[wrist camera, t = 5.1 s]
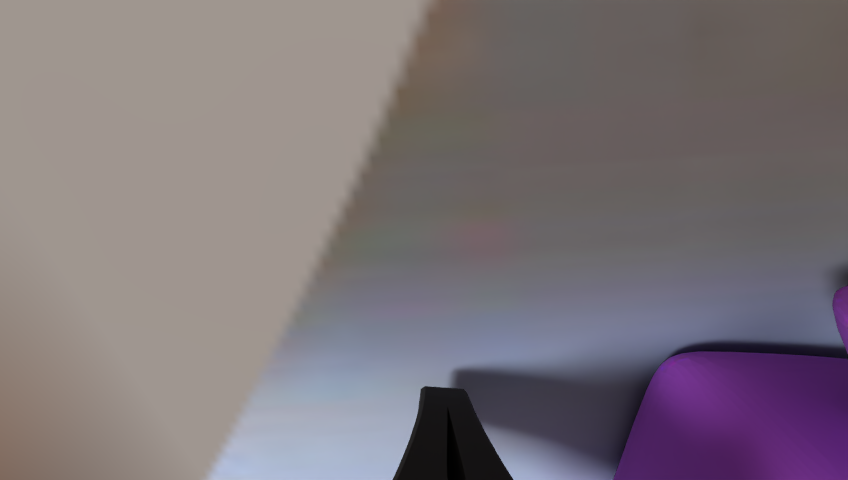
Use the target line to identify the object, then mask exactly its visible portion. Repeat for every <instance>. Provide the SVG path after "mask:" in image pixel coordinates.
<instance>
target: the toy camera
mask: <svg viewBox="0 0 848 480" xmlns="http://www.w3.org/2000/svg"><path fill="white" fill-rule="evenodd" d="M832 306H833V311H834V315H835V319H836V323H837V328H838V330H839V333H840V335H841V338H842V341H843V343H844V346H845V348H846V351H847V353H848V285H847V286H845V287H842V288H840V289H839V290H837V291H836V293H835V295H834V298H833V305H832ZM613 480H848V359H843V358H831V357H819V356H804V355H787V354H768V353H745V352H701V351H700V352H690V353H682V354H678V355H675V356H672V357H670V358H668V359H667V360H666V361H664V362H663V363H662V364H661V365H660V366H659V368H658V369H657V371H656V372H655V374H654V375H653V377H652V379H651V381H650V383H649V385H648V388H647V390H646V392H645V395H644V398H643V400H642V403H641V405H640V408H639V410H638V413H637V416H636V418H635V421H634V423H633V426H632V429H631V432H630V435H629V437H628V440H627V443H626V446H625V449H624V451H623V454H622V457H621V460H620V462H619V465H618V468H617V471H616V474H615V476H614V479H613Z"/></svg>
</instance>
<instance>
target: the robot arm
mask: <svg viewBox="0 0 848 480" xmlns="http://www.w3.org/2000/svg"><path fill="white" fill-rule="evenodd" d="M393 480H513V478H512V477H511V475H510V474H509V472H508V471H507V469H506V467H505V466H504V464H503V463H502V461H501V459H500V458H499V456H498V454H497V453H496V451H495V449H494V447H493V445H492V444H491V442H490V440H489V438H488V436H487V435H486V433H485V431H484V429H483V427H482V425H481V423H480V421H479V419H478V417H477V415H476V413H475V411H474V409H473V406H472V404H471V402H470V399H469V397H468V394H467V392H466V391H465V390H464V389H454V388H440V387H427V386H425V387H423V388H422V389H421V393H420V401H419V409H418V414H417V418H416V422H415V425H414V428H413V431H412V434H411V437H410V440H409V443H408V445H407V448H406V450H405V453H404V455H403V458H402V460H401V462H400V465H399V467H398V469H397V472H396V474H395V476H394V478H393Z"/></svg>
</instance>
